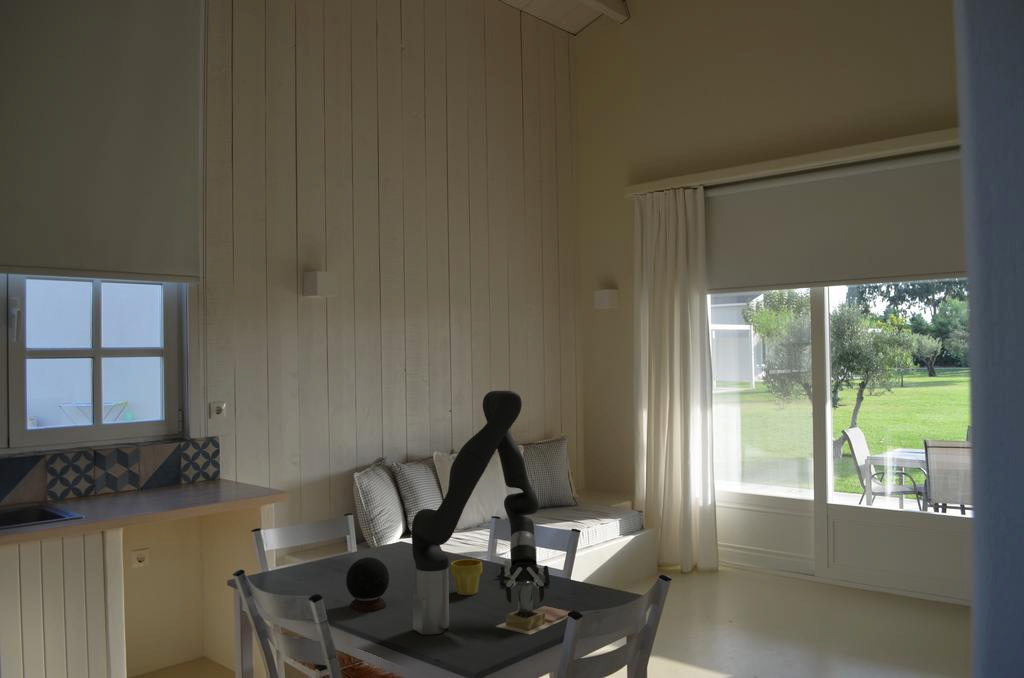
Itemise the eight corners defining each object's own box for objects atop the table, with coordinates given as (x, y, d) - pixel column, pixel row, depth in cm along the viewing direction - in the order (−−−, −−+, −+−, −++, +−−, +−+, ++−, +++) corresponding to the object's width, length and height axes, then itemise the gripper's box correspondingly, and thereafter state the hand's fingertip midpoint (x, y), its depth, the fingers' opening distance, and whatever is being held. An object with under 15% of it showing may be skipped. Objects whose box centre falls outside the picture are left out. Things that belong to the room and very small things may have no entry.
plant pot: (444, 594, 261) (444, 564, 261) (461, 587, 270) (461, 557, 270) (472, 598, 256) (472, 567, 256) (488, 590, 265) (488, 560, 266)
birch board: (530, 639, 217) (529, 623, 217) (495, 630, 224) (495, 615, 224) (576, 617, 235) (576, 603, 235) (543, 610, 242) (543, 596, 242)
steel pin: (523, 627, 222) (522, 584, 223) (515, 624, 226) (515, 580, 226) (535, 625, 225) (534, 581, 225) (527, 621, 228) (527, 578, 228)
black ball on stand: (347, 614, 240) (347, 564, 241) (344, 602, 253) (344, 554, 253) (391, 611, 244) (391, 560, 244) (386, 599, 256) (386, 551, 257)
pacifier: (512, 573, 288) (497, 575, 285) (512, 556, 289) (498, 557, 285) (523, 578, 282) (508, 580, 279) (523, 559, 282) (509, 561, 279)
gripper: (499, 543, 234) (500, 594, 222) (548, 543, 234) (551, 593, 222) (499, 558, 239) (500, 608, 227) (546, 557, 239) (550, 607, 227)
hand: (525, 601), depth 225 cm, fingers open, 8 cm apart
